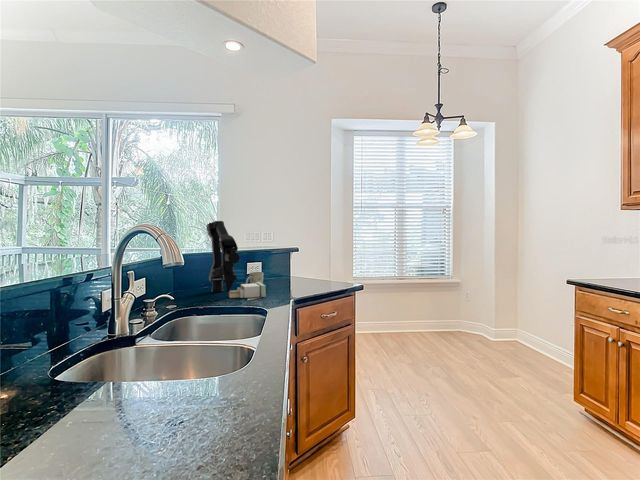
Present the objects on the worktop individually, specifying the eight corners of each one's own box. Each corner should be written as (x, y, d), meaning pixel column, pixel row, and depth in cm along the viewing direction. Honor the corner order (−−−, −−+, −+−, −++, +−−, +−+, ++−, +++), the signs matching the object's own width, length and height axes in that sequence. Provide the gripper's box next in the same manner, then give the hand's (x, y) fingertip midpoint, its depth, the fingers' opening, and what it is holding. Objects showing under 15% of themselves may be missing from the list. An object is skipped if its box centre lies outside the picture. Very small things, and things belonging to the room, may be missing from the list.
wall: (255, 292, 207) (255, 282, 207) (259, 292, 208) (259, 281, 208) (261, 297, 194) (261, 285, 194) (265, 296, 195) (265, 285, 195)
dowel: (229, 298, 195) (228, 290, 195) (251, 296, 200) (251, 289, 200) (230, 299, 192) (229, 291, 192) (253, 297, 197) (252, 290, 197)
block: (237, 294, 201) (236, 284, 201) (255, 293, 205) (255, 283, 205) (240, 298, 192) (240, 287, 192) (259, 296, 196) (259, 285, 196)
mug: (266, 289, 218) (266, 272, 217) (252, 292, 207) (251, 274, 207) (256, 288, 222) (256, 271, 222) (241, 291, 212) (240, 273, 211)
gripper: (209, 261, 199) (210, 290, 199) (214, 264, 182) (214, 296, 182) (230, 260, 203) (231, 289, 204) (236, 263, 186) (237, 294, 186)
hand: (228, 292), depth 194 cm, fingers closed, pressing on dowel
